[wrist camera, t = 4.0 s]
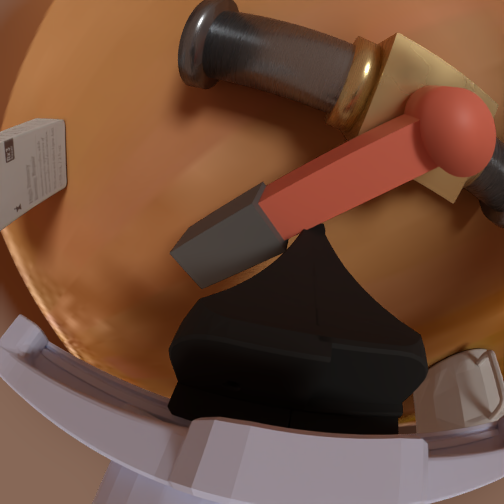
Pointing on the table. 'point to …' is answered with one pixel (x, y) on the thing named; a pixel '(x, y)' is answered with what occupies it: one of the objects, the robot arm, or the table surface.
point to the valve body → (397, 95)
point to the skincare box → (30, 166)
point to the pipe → (290, 71)
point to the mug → (460, 392)
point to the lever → (341, 182)
